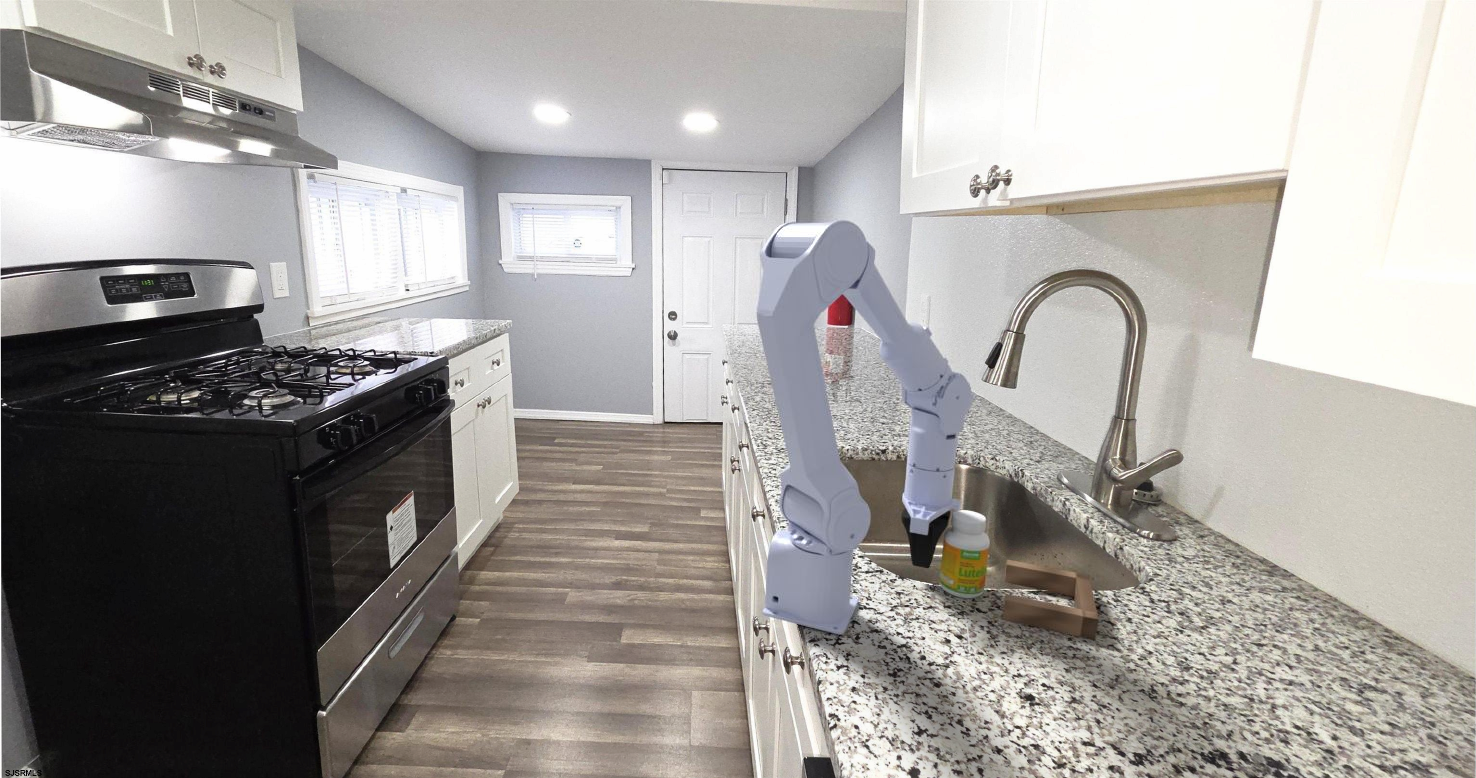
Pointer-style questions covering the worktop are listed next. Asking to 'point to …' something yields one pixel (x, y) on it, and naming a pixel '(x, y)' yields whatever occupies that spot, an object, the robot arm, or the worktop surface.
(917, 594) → the worktop surface
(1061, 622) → the wooden u-shaped bracket
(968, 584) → the supplement bottle
